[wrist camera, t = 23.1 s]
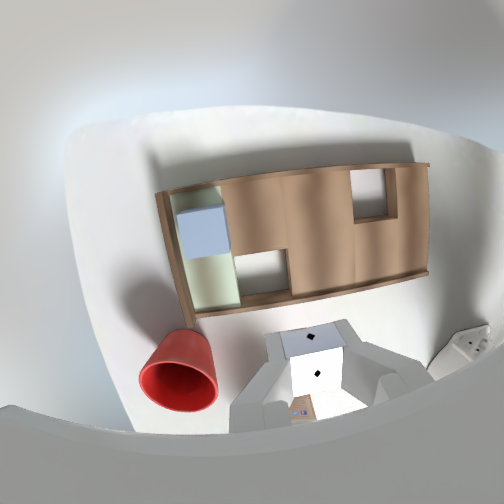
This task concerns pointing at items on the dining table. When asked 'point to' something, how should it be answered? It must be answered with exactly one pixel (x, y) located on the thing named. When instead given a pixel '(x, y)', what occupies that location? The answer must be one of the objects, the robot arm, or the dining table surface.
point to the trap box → (300, 236)
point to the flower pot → (181, 373)
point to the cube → (204, 231)
